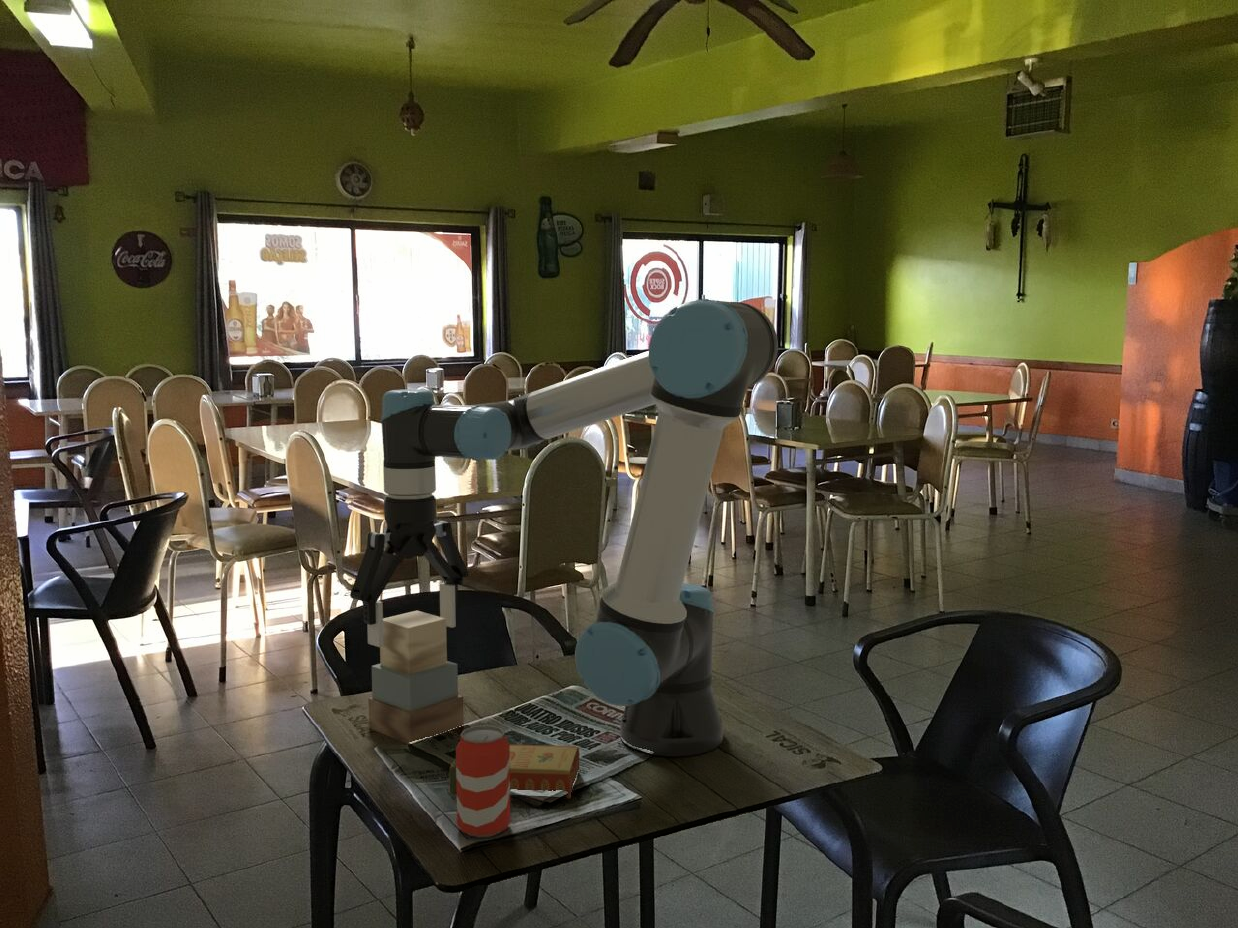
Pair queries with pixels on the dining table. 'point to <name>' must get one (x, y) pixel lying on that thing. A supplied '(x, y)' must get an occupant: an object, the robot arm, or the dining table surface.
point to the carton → (538, 768)
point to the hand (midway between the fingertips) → (413, 635)
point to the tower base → (415, 719)
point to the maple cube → (413, 642)
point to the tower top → (414, 686)
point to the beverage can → (483, 781)
